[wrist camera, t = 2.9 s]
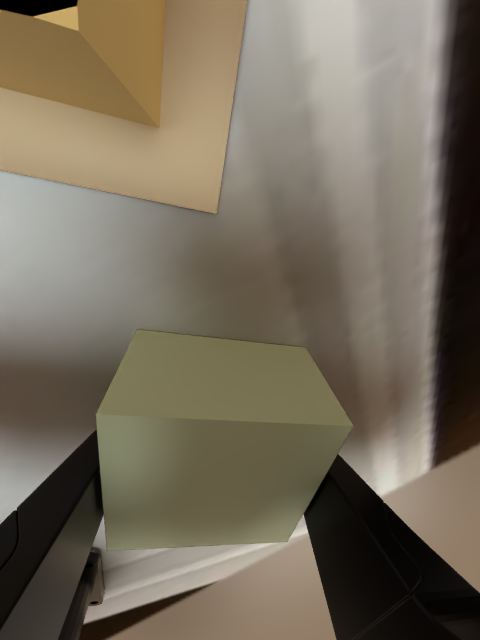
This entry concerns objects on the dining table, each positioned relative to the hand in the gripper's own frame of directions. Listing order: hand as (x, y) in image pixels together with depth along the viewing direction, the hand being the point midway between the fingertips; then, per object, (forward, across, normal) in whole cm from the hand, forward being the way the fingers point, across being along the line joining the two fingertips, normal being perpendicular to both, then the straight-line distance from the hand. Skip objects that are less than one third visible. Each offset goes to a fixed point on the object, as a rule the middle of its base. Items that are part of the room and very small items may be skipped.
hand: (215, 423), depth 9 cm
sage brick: (+1, 0, 0) cm, 1 cm away
